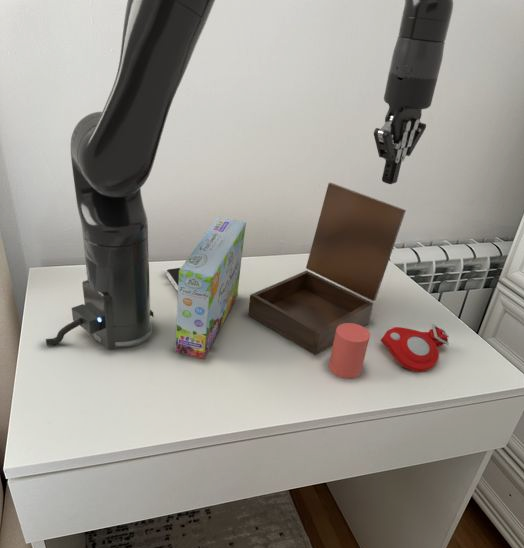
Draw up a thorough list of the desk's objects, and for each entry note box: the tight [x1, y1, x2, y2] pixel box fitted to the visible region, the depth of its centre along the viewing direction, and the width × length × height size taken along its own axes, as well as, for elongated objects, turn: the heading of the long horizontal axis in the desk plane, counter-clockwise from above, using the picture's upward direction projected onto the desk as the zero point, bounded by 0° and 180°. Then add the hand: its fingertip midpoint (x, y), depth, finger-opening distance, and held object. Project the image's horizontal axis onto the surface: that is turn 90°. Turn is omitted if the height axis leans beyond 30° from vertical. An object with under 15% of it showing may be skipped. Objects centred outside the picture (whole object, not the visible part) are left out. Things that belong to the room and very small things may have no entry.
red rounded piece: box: [380, 324, 450, 373], centre depth 90 cm, size 12×4×10 cm
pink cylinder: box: [328, 323, 371, 379], centre depth 83 cm, size 5×5×7 cm
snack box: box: [174, 216, 247, 360], centre depth 88 cm, size 21×6×15 cm, turn 168°
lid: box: [305, 182, 407, 302], centre depth 97 cm, size 16×16×5 cm
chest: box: [248, 269, 374, 356], centre depth 95 cm, size 16×16×4 cm
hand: (388, 182), depth 93 cm, fingers closed
